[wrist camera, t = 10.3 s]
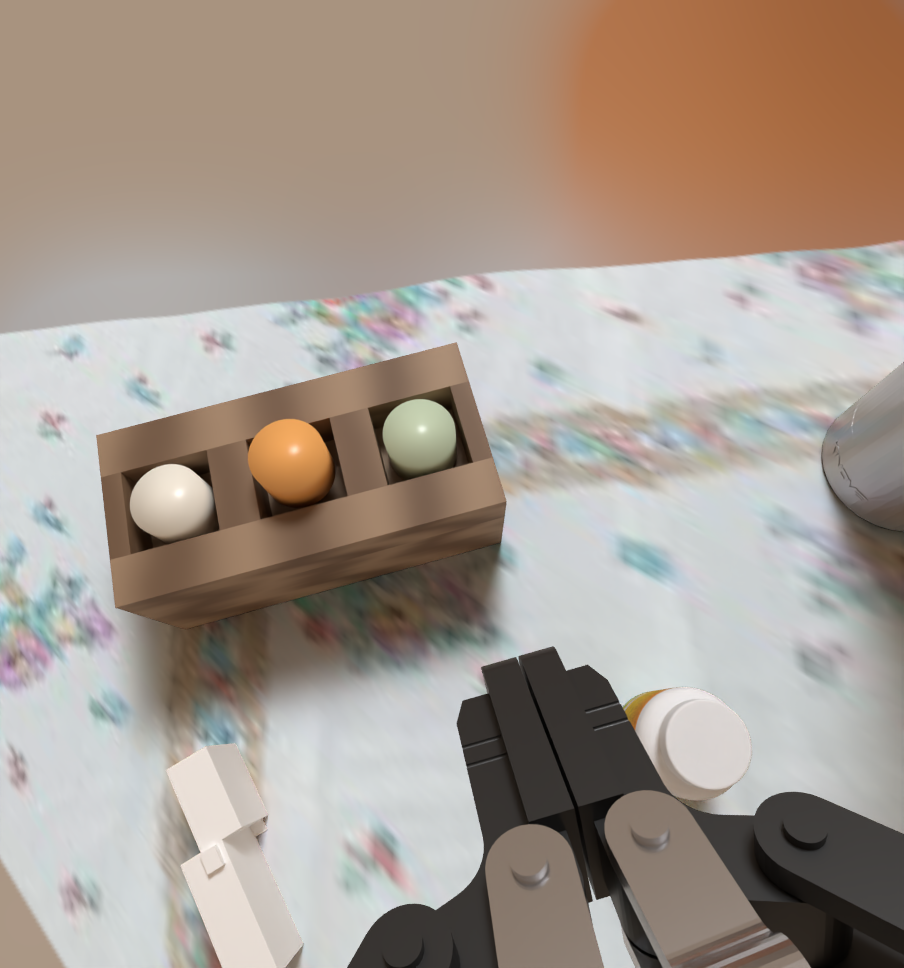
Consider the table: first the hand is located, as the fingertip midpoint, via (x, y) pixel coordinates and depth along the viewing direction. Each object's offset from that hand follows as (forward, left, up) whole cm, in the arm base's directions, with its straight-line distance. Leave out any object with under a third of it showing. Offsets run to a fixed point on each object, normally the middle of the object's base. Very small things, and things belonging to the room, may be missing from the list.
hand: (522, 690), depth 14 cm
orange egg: (+7, -15, -22) cm, 27 cm away
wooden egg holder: (+7, -15, -30) cm, 34 cm away
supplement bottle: (-9, +4, -30) cm, 32 cm away
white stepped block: (+15, +3, -31) cm, 34 cm away
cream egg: (+14, -15, -24) cm, 31 cm away
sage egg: (0, -15, -24) cm, 28 cm away
